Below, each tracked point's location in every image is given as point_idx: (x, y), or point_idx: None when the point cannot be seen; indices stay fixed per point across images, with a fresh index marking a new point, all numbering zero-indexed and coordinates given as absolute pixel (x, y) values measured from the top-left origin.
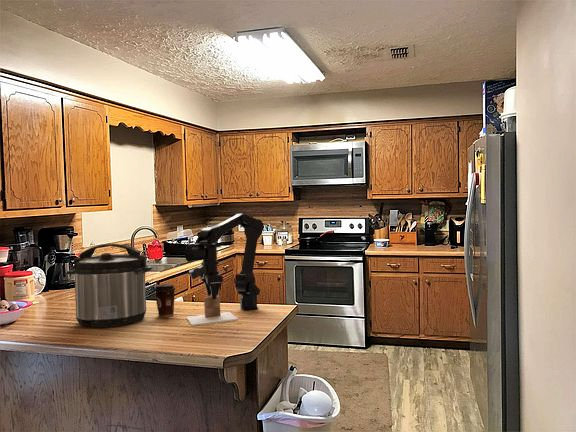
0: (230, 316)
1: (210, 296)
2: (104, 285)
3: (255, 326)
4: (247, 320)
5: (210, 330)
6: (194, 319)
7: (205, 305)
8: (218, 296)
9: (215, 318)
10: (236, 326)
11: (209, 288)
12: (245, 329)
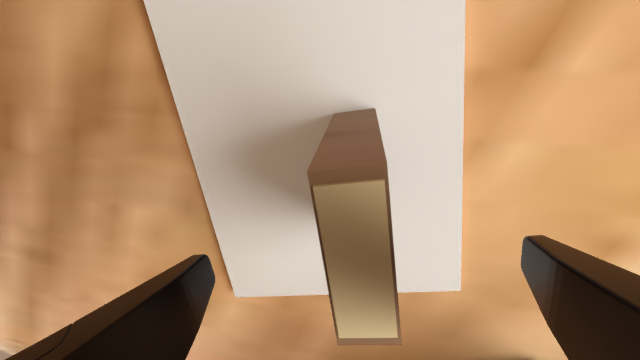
0: (307, 273)
1: (381, 255)
2: None
3: None
4: (219, 327)
5: (23, 118)
6: (310, 8)
7: (320, 142)
8: (338, 334)
9: (285, 180)
10: (103, 260)
11: (608, 355)
12: (44, 284)
